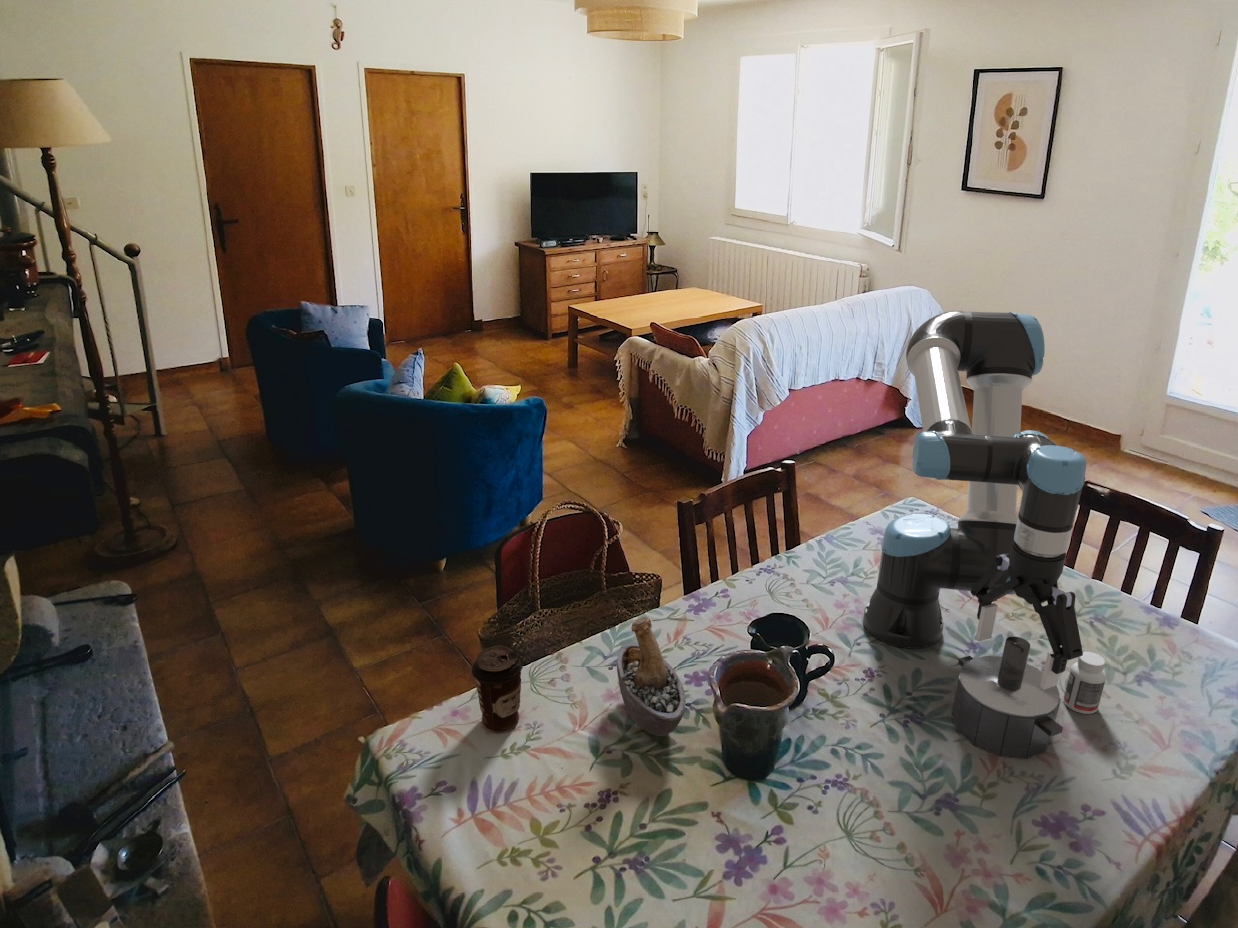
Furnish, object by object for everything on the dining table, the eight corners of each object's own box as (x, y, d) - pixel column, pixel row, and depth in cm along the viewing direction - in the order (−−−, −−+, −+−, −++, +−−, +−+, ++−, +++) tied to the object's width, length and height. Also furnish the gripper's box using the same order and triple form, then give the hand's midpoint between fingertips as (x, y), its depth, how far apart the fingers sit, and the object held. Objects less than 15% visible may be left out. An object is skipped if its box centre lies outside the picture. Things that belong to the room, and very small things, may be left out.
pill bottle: (1103, 707, 146) (1116, 661, 142) (1086, 719, 143) (1099, 672, 140) (1073, 690, 150) (1085, 645, 146) (1056, 701, 148) (1067, 655, 144)
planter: (628, 679, 154) (627, 584, 146) (711, 709, 146) (716, 611, 138) (585, 727, 142) (582, 627, 134) (673, 762, 135) (676, 659, 127)
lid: (939, 676, 143) (947, 628, 139) (1007, 655, 148) (1017, 609, 144) (1007, 732, 130) (1018, 681, 126) (1079, 707, 135) (1092, 658, 132)
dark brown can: (536, 713, 146) (532, 650, 141) (510, 743, 139) (506, 679, 134) (493, 699, 149) (488, 638, 144) (466, 728, 142) (460, 665, 137)
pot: (924, 701, 148) (930, 663, 145) (990, 680, 153) (997, 644, 150) (1011, 779, 131) (1021, 738, 128) (1083, 753, 136) (1093, 713, 133)
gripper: (961, 516, 138) (942, 625, 146) (1091, 591, 116) (1060, 714, 125) (996, 508, 140) (976, 616, 149) (1130, 581, 119) (1097, 702, 127)
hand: (1014, 661), depth 137 cm, fingers open, 13 cm apart
